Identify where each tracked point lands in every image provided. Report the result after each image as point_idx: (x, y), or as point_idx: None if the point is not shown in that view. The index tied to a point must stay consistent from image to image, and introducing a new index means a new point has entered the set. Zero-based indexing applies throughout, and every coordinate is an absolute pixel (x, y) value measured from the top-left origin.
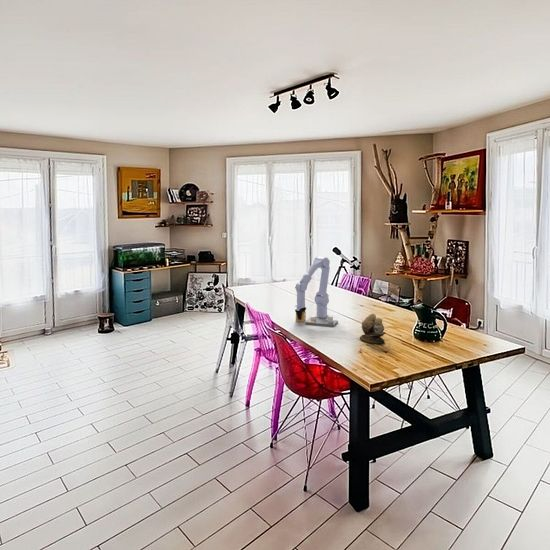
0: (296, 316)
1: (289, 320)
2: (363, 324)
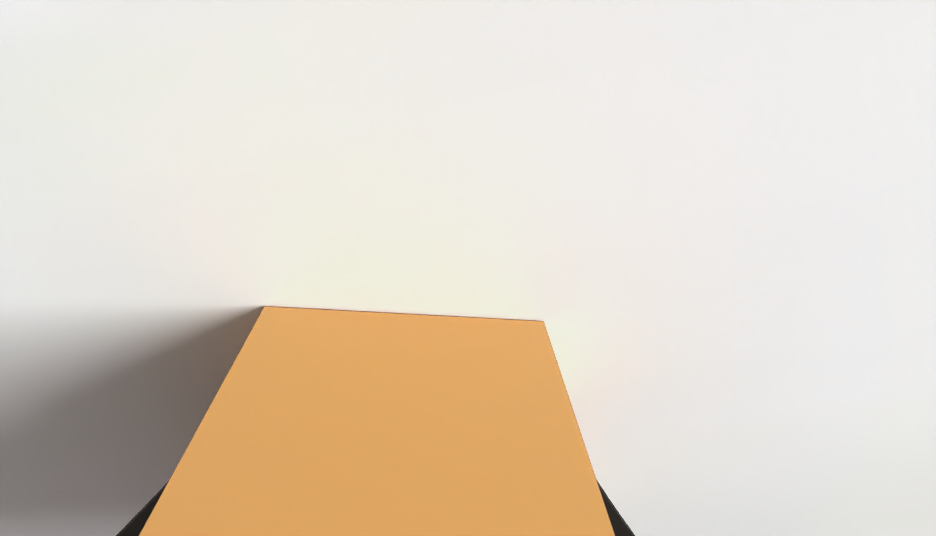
0: (201, 460)
1: (239, 48)
2: None
